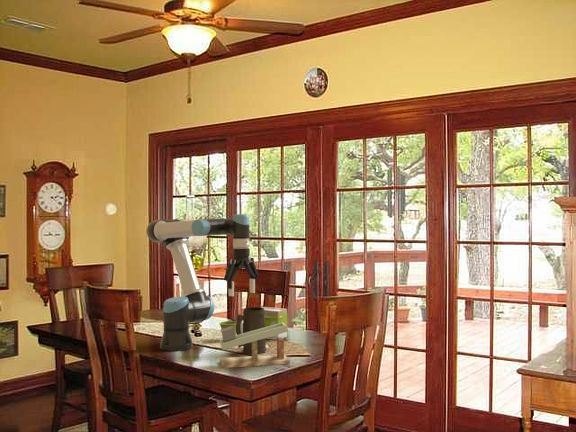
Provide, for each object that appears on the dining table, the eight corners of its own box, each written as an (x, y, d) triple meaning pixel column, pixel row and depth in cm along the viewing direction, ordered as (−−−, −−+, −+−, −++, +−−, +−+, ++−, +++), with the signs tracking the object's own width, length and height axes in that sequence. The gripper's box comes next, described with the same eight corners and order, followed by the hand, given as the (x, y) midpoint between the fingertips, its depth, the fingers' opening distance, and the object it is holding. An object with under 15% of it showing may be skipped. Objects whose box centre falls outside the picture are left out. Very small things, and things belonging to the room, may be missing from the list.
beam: (222, 350, 252) (221, 343, 252) (221, 346, 260) (219, 339, 260) (287, 331, 258) (286, 325, 257) (284, 328, 265) (282, 322, 265)
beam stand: (222, 367, 251) (222, 344, 251) (220, 361, 262) (219, 339, 262) (289, 363, 256) (289, 340, 256) (285, 357, 267) (284, 335, 267)
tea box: (252, 338, 312) (252, 308, 312) (262, 334, 321) (262, 306, 321) (278, 340, 305) (278, 310, 305) (287, 336, 314) (287, 307, 314)
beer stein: (254, 347, 289) (252, 305, 288) (272, 350, 282) (269, 307, 281) (231, 355, 277) (229, 311, 276) (249, 359, 270) (246, 313, 269)
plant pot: (235, 342, 302) (235, 324, 302) (217, 341, 304) (216, 324, 304) (240, 338, 312) (240, 321, 312) (222, 337, 313) (222, 320, 313)
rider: (224, 345, 254) (221, 331, 254) (223, 343, 259) (220, 329, 259) (236, 342, 255) (233, 328, 255) (235, 339, 260) (232, 326, 260)
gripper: (227, 249, 269) (228, 298, 269) (265, 246, 288) (266, 292, 288) (215, 249, 274) (216, 296, 274) (254, 246, 293) (254, 290, 293)
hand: (241, 294), depth 281 cm, fingers open, 13 cm apart
